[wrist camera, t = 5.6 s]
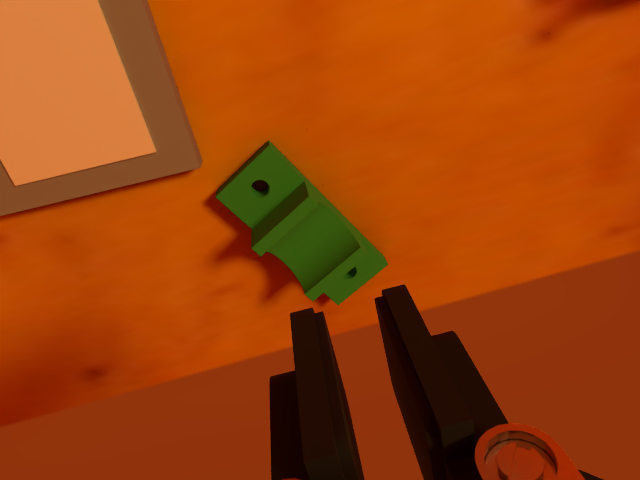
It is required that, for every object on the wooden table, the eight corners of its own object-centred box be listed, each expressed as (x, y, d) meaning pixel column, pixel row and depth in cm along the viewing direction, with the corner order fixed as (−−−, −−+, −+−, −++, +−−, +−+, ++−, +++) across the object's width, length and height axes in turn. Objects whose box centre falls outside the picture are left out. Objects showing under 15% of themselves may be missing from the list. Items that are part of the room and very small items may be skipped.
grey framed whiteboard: (-218, -177, 19) (-251, -189, 18) (62, -244, 20) (49, -261, 18) (6, 208, 28) (-6, 218, 27) (202, 161, 28) (199, 168, 27)
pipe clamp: (400, 283, 29) (344, 329, 30) (385, 255, 32) (336, 296, 33) (269, 157, 24) (209, 215, 25) (268, 139, 28) (215, 191, 29)
